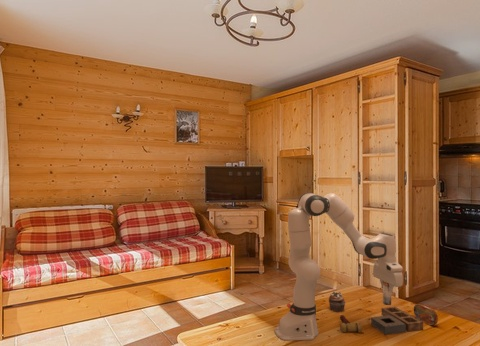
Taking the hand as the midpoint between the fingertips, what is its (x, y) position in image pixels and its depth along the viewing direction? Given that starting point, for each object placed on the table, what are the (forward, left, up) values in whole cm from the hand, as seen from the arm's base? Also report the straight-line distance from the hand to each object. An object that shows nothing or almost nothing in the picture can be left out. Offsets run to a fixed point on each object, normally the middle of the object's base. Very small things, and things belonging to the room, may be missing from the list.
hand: (387, 290), depth 181 cm
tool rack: (+12, +5, -20) cm, 24 cm away
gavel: (-18, +10, -21) cm, 29 cm away
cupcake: (-13, +30, -20) cm, 38 cm away
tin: (+25, +2, -20) cm, 32 cm away
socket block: (0, 0, -20) cm, 20 cm away
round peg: (0, 0, -7) cm, 7 cm away
